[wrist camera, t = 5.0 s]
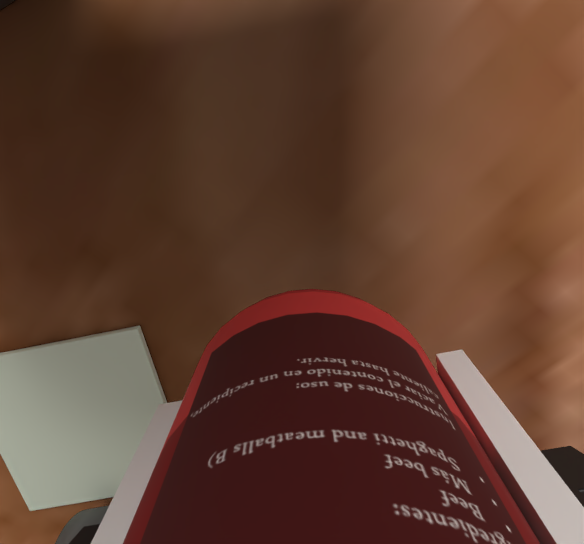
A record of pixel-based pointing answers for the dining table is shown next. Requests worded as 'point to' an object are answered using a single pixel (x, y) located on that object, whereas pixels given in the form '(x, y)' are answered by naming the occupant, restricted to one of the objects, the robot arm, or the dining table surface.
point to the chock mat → (75, 415)
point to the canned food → (322, 439)
